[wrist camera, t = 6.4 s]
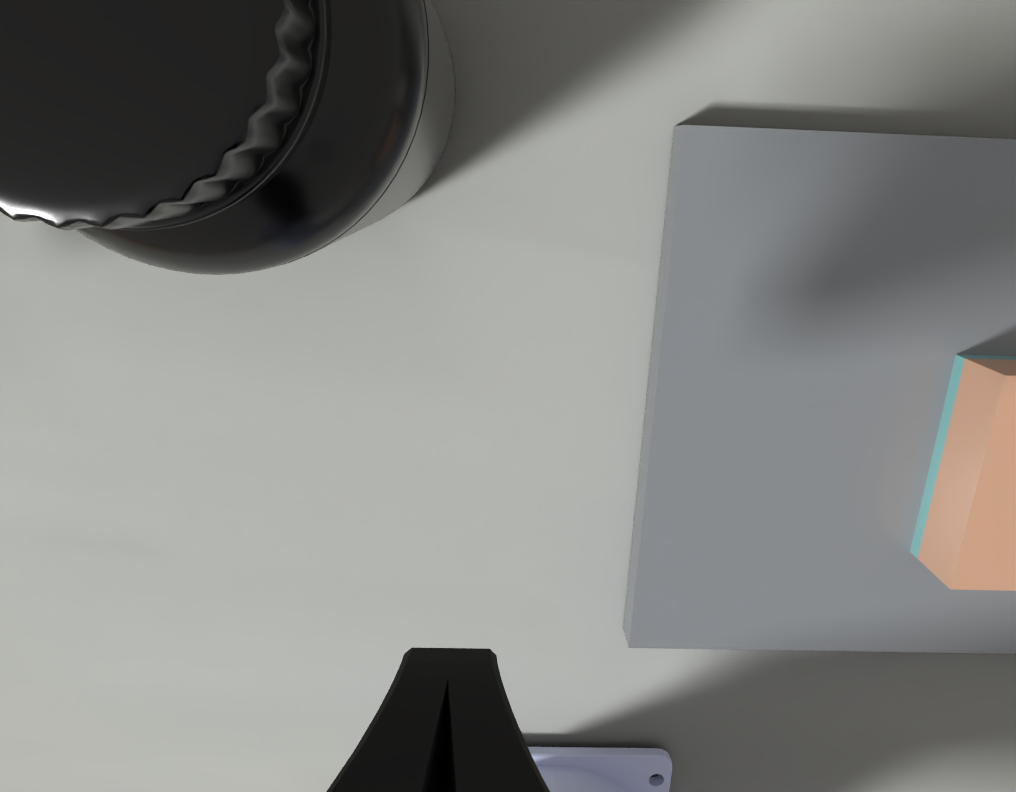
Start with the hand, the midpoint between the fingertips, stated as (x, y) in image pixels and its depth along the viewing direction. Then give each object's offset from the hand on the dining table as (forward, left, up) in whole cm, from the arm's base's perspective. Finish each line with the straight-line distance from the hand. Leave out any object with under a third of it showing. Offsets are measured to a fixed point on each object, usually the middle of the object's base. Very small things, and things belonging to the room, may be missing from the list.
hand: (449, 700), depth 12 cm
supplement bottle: (+10, +4, -11) cm, 15 cm away
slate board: (+2, -14, -10) cm, 18 cm away
